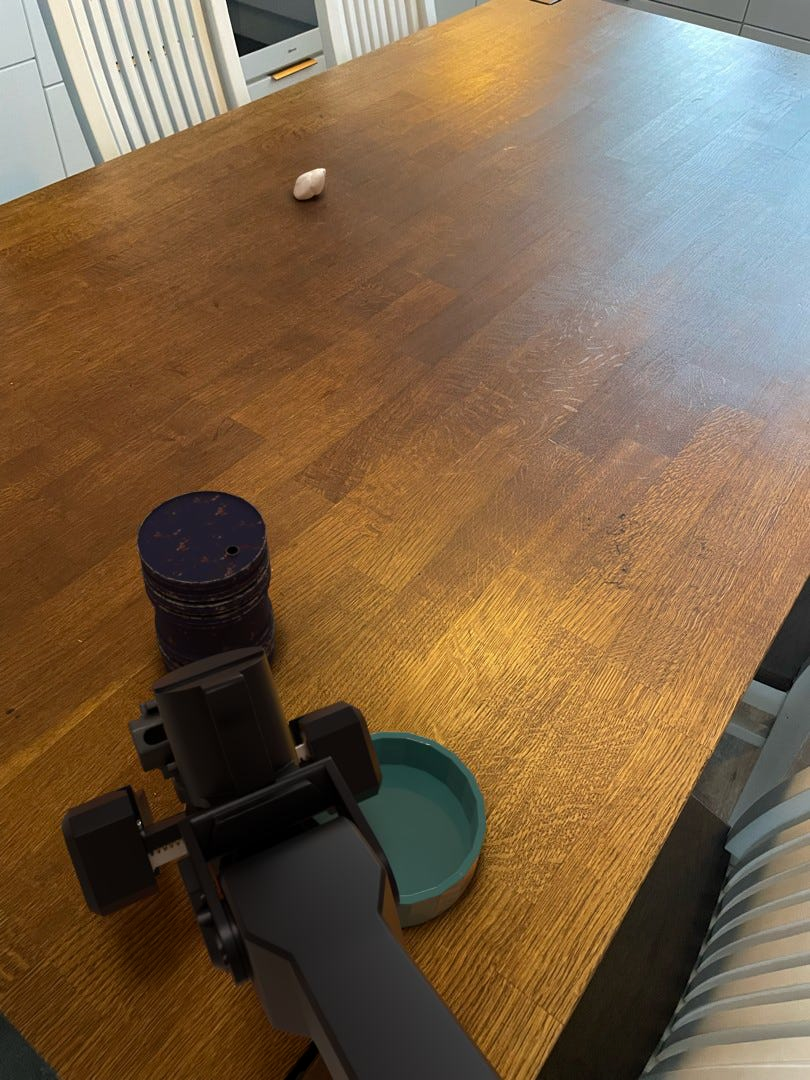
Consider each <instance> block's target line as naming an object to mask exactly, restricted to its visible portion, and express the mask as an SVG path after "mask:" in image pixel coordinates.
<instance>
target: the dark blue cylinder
mask: <svg viewBox="0 0 810 1080" xmlns="http://www.w3.org/2000/svg"><path fill="white" fill-rule="evenodd" d="M267 533H268V532H267V525H266V522H265V519H264V517H263V515H262V513H261V512H260V511H259V510H258V508H257V507H256V506H254V505H253V504H252V503H251V502H250V501H248V500H247V499H245V498H243V497H241V496H239V495H236V494H234V493H229V492H226V491H220V490H208V489H207V490H195V491H189V492H185V493H181V494H177V495H175V496H173V497H171V498H168V499H166V500H164V501H163V502H161V503H160V504H158V505H157V506H155V507H154V508H153V509H152V510H151V511H150V512H149V513H148V514H147V515H146V516H145V518H144V519H143V520H142V521H141V523H140V526H139V527H138V531H137V536H136V546H137V552H138V556H139V561H140V569H141V575H142V576H141V577H142V580H143V584H144V589H145V593H146V595H147V598H148V600H149V601H150V604H151V605H152V607H153V609H154V629H155V635H156V641H157V645H158V649H159V652H160V654H161V658H162V661H163V664H164V669H165V672H166V673H167V674H168V673H170V672H172V671H175V670H177V669H179V668H181V667H184V666H186V665H189V664H191V663H194V662H196V661H199V660H202V659H205V658H208V657H211V656H214V655H217V654H221V653H224V652H228V651H232V650H237V649H241V648H248V647H262V648H264V650H265V654H266V657H267V660H268V663H269V666H270V667H272V664H273V662H274V658H275V651H276V646H275V633H276V628H275V627H276V626H275V625H276V624H275V615H274V609H273V603H272V600H271V598H270V596H269V589H270V586H271V579H272V569H271V568H272V567H271V558H270V557H271V555H270V548H269V544H268V534H267ZM167 674H166V675H167Z"/></svg>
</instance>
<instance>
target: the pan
mask: <svg viewBox="0 0 810 1080" xmlns="http://www.w3.org/2000/svg"><path fill="white" fill-rule="evenodd" d="M370 736H371V739H372V743H373V746H374V749H375V753H376V756H377V759H378V762H379V766H380V769H381V772H382V776H383V777H382V784H381V787H380V790H379V793H378V795H376V796H374V797H371V798H369V799H367V800H365V801H362V802H360V803H358V806H359V808H360V810H361V811H362V813H363V815H364V817H365V818H366V820H367V822H368V824H369V826H370V827H371V829H372V831H373V833H374V835H375V836H376V838H377V840H378V842H379V844H380V845H381V847H382V849H383V851H384V853H385V855H386V857H387V859H388V861H389V864H390V866H391V869H392V871H393V874H394V877H395V880H396V883H397V887H398V891H399V896H400V904H399V906H398V907H396V910H397V914H398V918H399V921H400V925H401V929H403V928H409V927H413V926H414V927H415V926H418V925H420V924H423V923H426V922H429V921H431V920H432V919H434V918H437V917H439V916H440V915H441V914H443V913H444V912H446V911H448V909H449V908H451V907H452V906H453V905H454V904H455V903H456V902H457V901H458V900H459V898H460V897H461V896H462V895H463V894H464V892H465V891H466V889H467V887H468V886H469V884H470V882H471V881H472V878H473V877H474V874H475V871H476V868H477V865H478V861H479V858H480V854H481V851H482V847H483V843H484V838H485V834H486V830H487V817H486V804H485V798H484V795H483V794H482V791H481V789H480V787H479V784H478V782H477V779H476V777H475V775H474V774H473V772H472V771H471V770H470V769H469V768H468V767H467V766H466V764H465V763H464V762H463V761H462V759H461V758H460V757H459V756H458V755H457V754H456V753H455V752H453V751H451V750H450V749H448V748H447V747H445V746H444V745H442V744H441V743H439V742H437V741H436V740H434V739H432V738H429V737H426V736H422V735H418V734H415V733H413V732H408V731H377V732H373V733H370ZM337 817H339V816H338V814H337V813H336V814H333V815H331V816H330V815H329V814H328V813H327V812H326V811H325V812H323V813H320V814H318V815H316V816H314V818H315V819H316V820H317V821H318V822H319V823H320V825H321V824H323V823H325V822H328V821H330V820H332V819H334V818H337Z"/></svg>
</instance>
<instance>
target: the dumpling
mask: <svg viewBox="0 0 810 1080" xmlns="http://www.w3.org/2000/svg"><path fill="white" fill-rule="evenodd" d="M326 174H327V171H326V169H325V168H316V169H313V170H310V171H307V172H305V173H303V174H301V175H299V176H298V178H297V179H296V181H295V186H294V188H293V195H294V197H295V198H296V199H297V200H303V201H304V200H308V199H311V198H312V197H314V196H319V194H321V192H322V191H323V189H324V187H325V183H326V180H325V179H326Z"/></svg>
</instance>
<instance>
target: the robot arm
mask: <svg viewBox="0 0 810 1080" xmlns="http://www.w3.org/2000/svg"><path fill="white" fill-rule="evenodd" d="M150 689H151V691H152V694H153V697H154V698H152V699H149V700H147V701H143V702H140V703H138V705H137V706H138V709H139V712H140V716H139V717H137V718H135V719H133V720H130V721H129V722H128V723H127V727H128V730H129V733H130V736H131V739H132V742H133V744H134V745H133V746H134V748H135V751H136V753H137V754H136V755H137V757H138V759H139V763H140V765H141V768H142V771H143V772H144V773H149V772H151V771H154V770H159V771H160V772H161V774H162V775H161V776H162V777H163V780H164V781H167V780H169V779H171V782H172V784H173V788H174V791H175V793H176V796H177V799H178V801H179V802H180V804H181V805H185V803H186V807H185V811H184V810H182V811H179V812H177V813H174V814H172V815H171V816H168V817H165V818H163V819H161V820H158V821H156V822H155V821H154V815H153V812H152V809H151V805H150V803H149V800H148V797H147V794H146V791H145V789H144V788H141V789H138V790H136V791H134V788H133V787H132V785H131V784H127V785H124V786H122V787H119V788H117V789H114V790H112V791H109V792H107V793H104V794H102V795H98V796H96V797H94V798H91V799H90V800H87V801H85V802H82V803H80V804H78V805H75V806H73V807H70V808H68V809H67V810H66V812H65V814H64V816H63V818H62V820H61V832H62V835H63V840H64V844H65V845H66V849H67V852H68V854H69V858H70V860H71V862H72V866H73V869H74V873H75V875H76V877H77V880H78V883H79V886H80V889H81V891H82V894H83V898H84V900H85V901H84V902H85V903H86V906H87V907H88V910H89V912H91V913H93V914H95V915H97V916H99V917H101V918H105V917H107V916H109V915H112V914H114V913H116V912H118V911H121V910H123V909H125V908H127V907H130V906H131V905H134V904H137V903H138V902H141V901H143V900H145V899H148V898H150V897H152V896H154V895H157V894H159V893H161V890H160V886H159V884H158V880H157V877H160V876H161V870H160V869H161V868H160V867H161V866H162V865H165V864H167V863H169V862H171V861H174V860H176V859H178V860H176V865H177V868H178V871H179V874H180V877H181V880H182V882H183V886H184V889H185V891H186V895H187V897H188V900H189V903H190V905H191V909H192V911H193V915H194V917H195V919H196V923H197V925H198V928H199V931H200V934H201V937H202V939H203V942H204V946H205V948H206V951H207V954H208V956H209V960H210V962H211V965H212V967H213V968H215V969H218V970H221V971H222V972H225V974H226V975H228V974H230V976H231V979H232V981H233V983H234V985H235V987H236V988H239V987H240V986H243V985H244V984H247V983H248V982H250V983H251V985H252V988H253V990H254V993H255V995H256V996H257V999H258V1001H259V1003H260V1005H261V1007H262V1009H263V1011H264V1013H265V1016H266V1018H267V1020H268V1022H269V1024H270V1026H271V1028H273V1029H275V1030H278V1031H282V1032H286V1033H288V1034H292V1035H296V1036H300V1037H304V1038H308V1039H311V1040H312V1041H313V1043H314V1044H315V1046H316V1048H317V1050H318V1052H319V1054H320V1056H321V1057H322V1060H323V1061H324V1063H325V1065H326V1068H327V1069H328V1072H329V1073H330V1075H331V1078H332V1080H504V1078H503V1077H502V1076H501V1075H500V1073H499V1072H498V1070H497V1069H496V1068H495V1066H494V1065H493V1064H492V1062H491V1061H490V1060H489V1059H488V1057H487V1056H486V1054H485V1053H484V1051H482V1049H481V1048H480V1047H479V1044H478V1043H477V1042H476V1041H475V1040H474V1038H473V1037H472V1036H471V1035H470V1033H469V1031H468V1030H467V1029H466V1027H464V1025H463V1023H462V1022H461V1021H460V1019H459V1018H458V1017H457V1015H456V1014H455V1013H454V1012H453V1010H452V1009H451V1008H450V1006H449V1005H448V1003H447V1002H446V1001H445V999H444V998H443V997H442V995H441V994H440V993H439V991H438V990H437V989H436V987H435V986H434V985H433V983H432V982H431V980H430V979H429V978H428V977H427V975H426V974H425V972H424V971H423V969H421V967H420V966H419V964H418V963H417V962H416V961H415V959H414V958H413V956H412V955H411V953H410V952H409V951H408V948H407V944H406V941H405V938H404V934H403V930H402V929H403V928H401V925H400V921H399V918H398V914H397V910H396V907H398V906H399V904H400V896H399V891H398V887H397V883H396V880H395V877H394V874H393V871H392V869H391V866H390V864H389V861H388V859H387V857H386V855H385V853H384V851H383V849H382V847H381V845H380V844H379V842H378V840H377V838H376V836H375V835H374V833H373V831H372V829H371V827H370V826H369V824H368V822H367V820H366V818H365V817H364V815H363V813H362V811H361V810H360V808H359V806H358V803H360V802H362V801H365V800H367V799H369V798H371V797H374V796H376V795H378V793H379V790H380V787H381V784H382V777H383V776H382V772H381V769H380V766H379V762H378V759H377V756H376V753H375V749H374V746H373V743H372V739H371V736H370V734H371V733H370V730H369V726H368V723H367V720H366V717H365V716H364V714H363V712H362V711H361V709H360V708H359V707H356V706H354V705H353V704H350V703H348V702H346V701H344V700H341V699H340V700H339V701H335V702H334V703H331V704H329V705H326V706H324V707H320V708H317V709H315V710H313V711H311V712H308V713H305V714H303V715H300V716H298V717H295V718H293V719H290V720H287V717H286V715H285V711H284V708H283V704H282V702H281V699H280V696H279V692H278V689H277V685H276V682H275V680H274V676H273V672H272V669H271V666H269V663H268V660H267V657H266V654H265V650H264V648H262V647H248V648H241V649H237V650H232V651H228V652H224V653H221V654H217V655H214V656H211V657H208V658H205V659H202V660H199V661H196V662H194V663H191V664H189V665H186V666H184V667H181V668H179V669H177V670H175V671H172V672H170V673H168V674H165V675H163V676H161V677H160V678H158V679H157V680H155V681H154V682H153V683H152V684H151V688H150ZM325 811H326V812H327V813H328V814H329V815H330V816H331V815H333V814H336V813H337V814H338V816H339V817H337V818H334V819H332V820H330V821H328V822H325V823H323V824H321V825H320V823H319V822H318V821H317V820H316V819H315V818H314V816H316V815H318V814H320V813H323V812H325ZM177 841H178V842H177ZM171 844H172V845H171ZM158 849H159V850H158ZM186 855H187V856H186ZM183 856H184V857H183ZM181 857H182V858H181ZM179 858H180V859H179ZM215 884H216V885H215ZM216 886H217V888H218V890H219V893H220V895H221V896H222V898H221V897H220V895H219V893H218V890H217V888H216Z"/></svg>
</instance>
